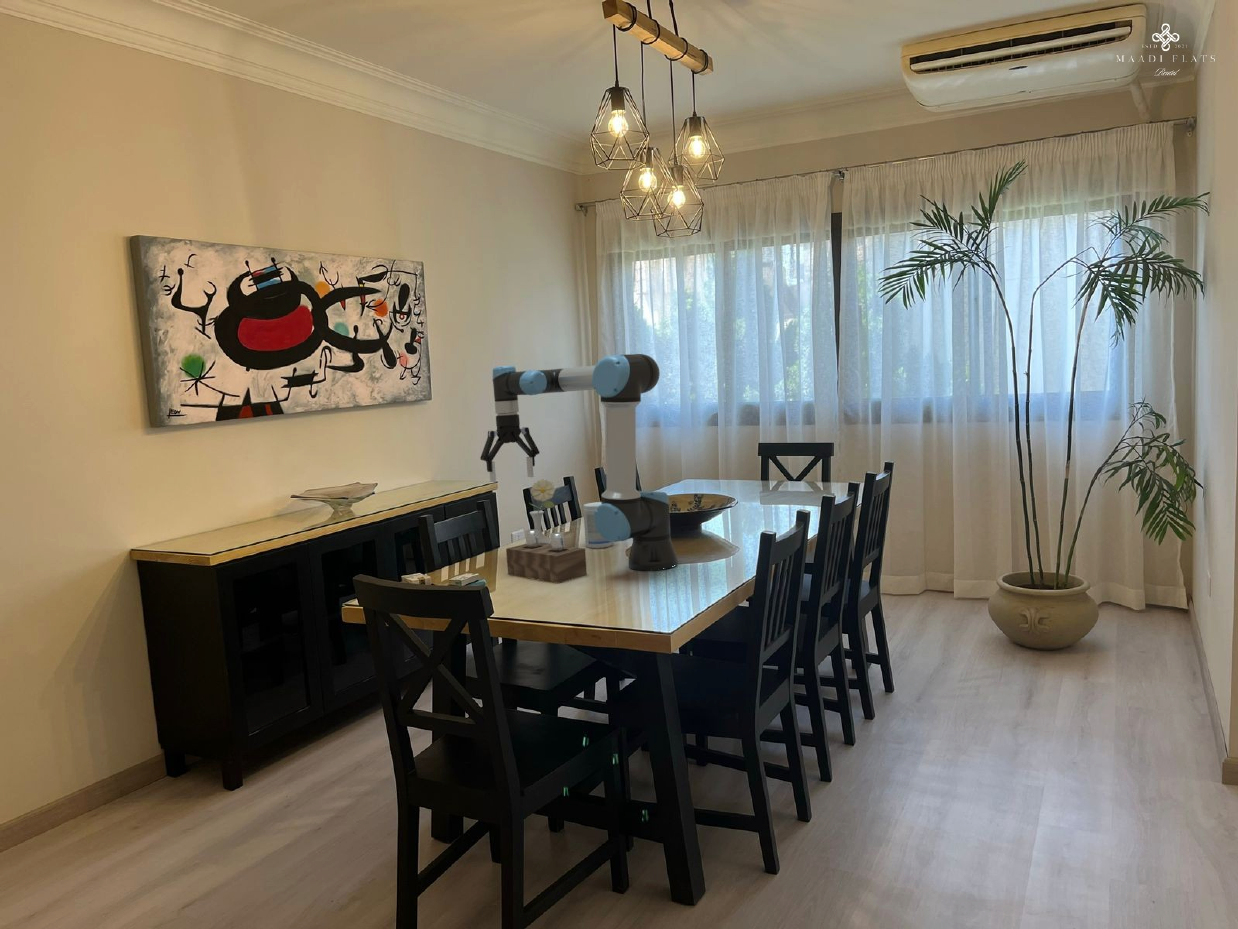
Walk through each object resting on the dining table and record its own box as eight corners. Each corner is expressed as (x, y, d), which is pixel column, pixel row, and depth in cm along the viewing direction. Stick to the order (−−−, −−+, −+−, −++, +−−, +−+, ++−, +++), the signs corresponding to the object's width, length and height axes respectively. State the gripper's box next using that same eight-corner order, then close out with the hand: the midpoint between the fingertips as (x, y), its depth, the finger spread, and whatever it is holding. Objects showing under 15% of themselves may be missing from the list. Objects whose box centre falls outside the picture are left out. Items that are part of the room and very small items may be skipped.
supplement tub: (618, 545, 313) (616, 503, 312) (595, 550, 308) (592, 507, 307) (603, 542, 322) (601, 500, 320) (580, 546, 316) (577, 504, 315)
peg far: (542, 554, 279) (541, 530, 279) (533, 556, 277) (531, 532, 276) (533, 552, 282) (532, 529, 281) (524, 555, 279) (522, 531, 278)
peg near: (567, 557, 272) (566, 533, 271) (558, 560, 269) (556, 535, 268) (558, 556, 275) (557, 532, 274) (548, 559, 272) (547, 534, 271)
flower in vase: (517, 555, 307) (511, 481, 304) (530, 548, 317) (526, 477, 315) (552, 556, 302) (548, 481, 300) (565, 548, 313) (561, 476, 310)
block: (586, 574, 273) (585, 548, 272) (557, 583, 264) (556, 556, 264) (536, 566, 288) (535, 541, 287) (507, 574, 279) (506, 548, 278)
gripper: (535, 411, 305) (540, 474, 307) (466, 417, 291) (472, 483, 294) (546, 411, 299) (551, 475, 301) (476, 417, 285) (482, 484, 287)
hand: (512, 479), depth 297 cm, fingers open, 13 cm apart
